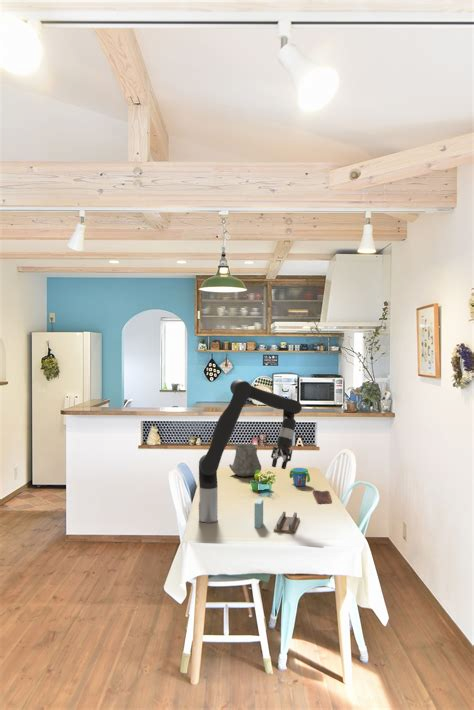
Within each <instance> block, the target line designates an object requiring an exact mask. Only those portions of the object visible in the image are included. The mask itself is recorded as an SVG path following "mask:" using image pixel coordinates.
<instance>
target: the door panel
mask: <svg viewBox="0 0 474 710" xmlns="http://www.w3.org/2000/svg"><path fill="white" fill-rule="evenodd" d="M263 525H264V499H260V498H259V499H256V501H255V502H254V528H257V529H258V528H259V529H260V528H262V526H263Z"/></svg>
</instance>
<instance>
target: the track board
mask: <svg viewBox="0 0 474 710" xmlns="http://www.w3.org/2000/svg"><path fill="white" fill-rule="evenodd" d="M300 520H301V519H300V517H298V516H297V512H294V513H293V515H292V516H286V511H282V513H281V515H280V516H279V518H278V520H277V522H276V524H275V526H274V527H273V533H274V532H275V533H284V534H285V533H286V534H295V533H296V530H297V527H298V525H299V524H300V523H299V522H300Z"/></svg>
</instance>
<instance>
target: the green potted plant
mask: <svg viewBox="0 0 474 710" xmlns="http://www.w3.org/2000/svg"><path fill="white" fill-rule="evenodd" d="M258 474H262V475H263V473H262V472H261V471H259V470H257V471H256V472H255V475H253V477H254V479H255V480H250V481H249V483H250V487H251V488H252V490H253V491H255V492H259V491H258V482H259V477H258Z"/></svg>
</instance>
